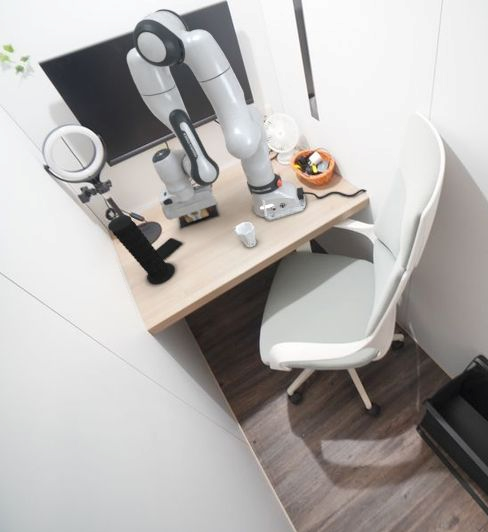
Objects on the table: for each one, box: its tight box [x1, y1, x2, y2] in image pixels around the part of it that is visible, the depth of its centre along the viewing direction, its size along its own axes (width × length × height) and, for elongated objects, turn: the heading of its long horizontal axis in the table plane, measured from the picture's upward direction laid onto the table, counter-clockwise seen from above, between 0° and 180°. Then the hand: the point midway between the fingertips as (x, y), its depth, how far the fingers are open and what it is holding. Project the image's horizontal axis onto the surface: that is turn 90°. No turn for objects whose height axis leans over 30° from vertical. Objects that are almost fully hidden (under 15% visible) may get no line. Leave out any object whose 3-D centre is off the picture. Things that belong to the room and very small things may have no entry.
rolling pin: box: [178, 206, 214, 223], centre depth 135 cm, size 5×14×5 cm, turn 113°
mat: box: [179, 204, 219, 229], centre depth 139 cm, size 16×12×1 cm
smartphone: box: [155, 237, 182, 260], centre depth 124 cm, size 7×1×15 cm
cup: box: [232, 221, 257, 248], centre depth 121 cm, size 7×10×8 cm
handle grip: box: [107, 214, 176, 285], centre depth 108 cm, size 10×26×10 cm
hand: (197, 218), depth 133 cm, fingers closed
